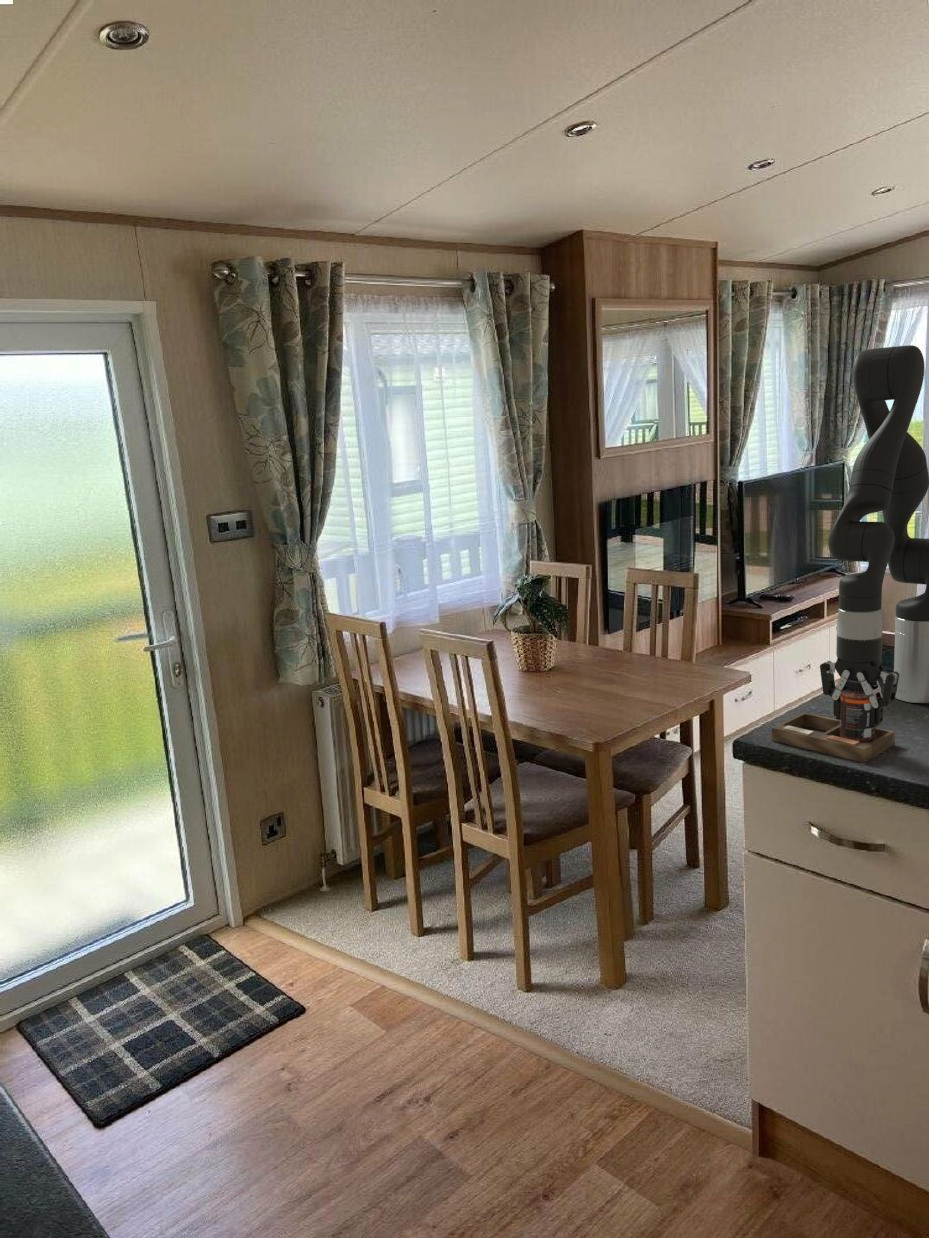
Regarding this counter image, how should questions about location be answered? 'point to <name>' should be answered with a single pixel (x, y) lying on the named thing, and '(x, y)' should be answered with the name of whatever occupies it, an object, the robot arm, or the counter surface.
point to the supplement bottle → (855, 713)
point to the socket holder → (830, 737)
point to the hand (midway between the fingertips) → (857, 721)
